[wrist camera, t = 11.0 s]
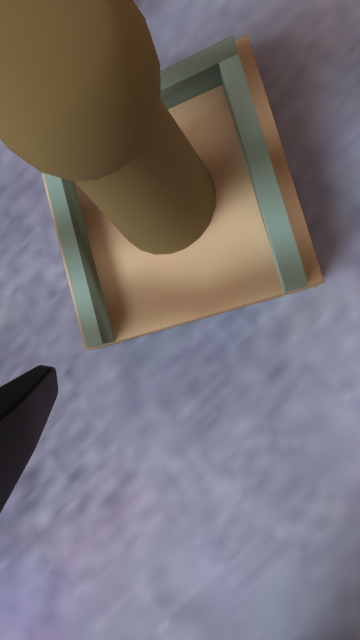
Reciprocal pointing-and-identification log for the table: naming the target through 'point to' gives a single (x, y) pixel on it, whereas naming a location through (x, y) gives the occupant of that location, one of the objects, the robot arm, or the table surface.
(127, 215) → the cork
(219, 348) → the table surface
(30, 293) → the table surface
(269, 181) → the dock
